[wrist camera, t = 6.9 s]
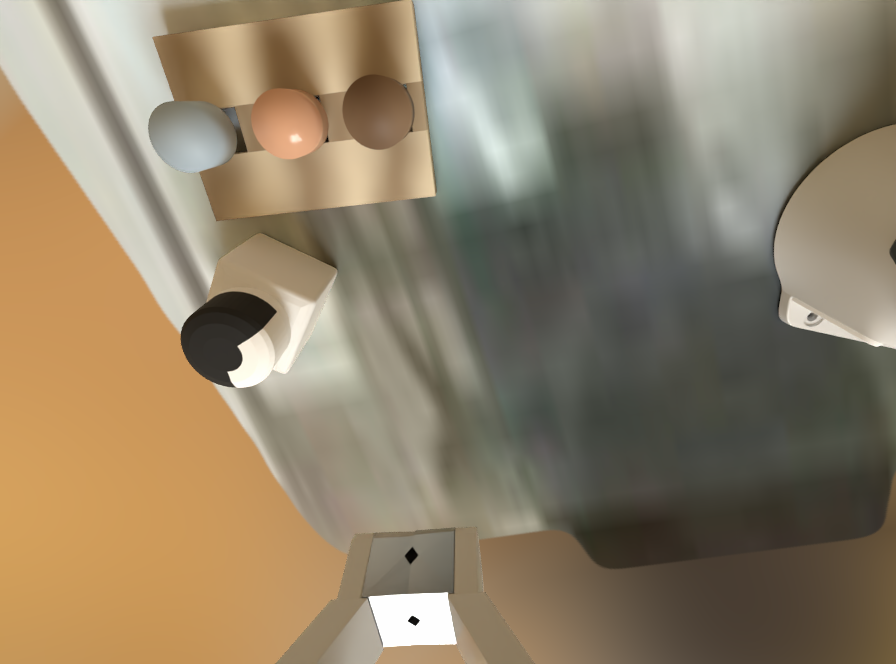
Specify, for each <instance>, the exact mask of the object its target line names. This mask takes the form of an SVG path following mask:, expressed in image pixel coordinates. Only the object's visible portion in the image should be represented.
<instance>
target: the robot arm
mask: <svg viewBox="0 0 896 664" xmlns="http://www.w3.org/2000/svg"><path fill="white" fill-rule="evenodd" d="M774 260H775V266H776V270H777V273H778V276H779V278H780V281H781V286H782V293H781V298H780V304H779V317H780V319H781V320H782V321H783V322H785V323H787V324H789V325H791V326H794V327H798V328H803V329H807V330H812V331H816V332H821V333H825V334H830V335H835V336H839V337H844V338H848V339H853V340H858V341H862V342H866V343H868V344H870V345H873V346H876V347H878V346H880V345H881V346H885V347H890V348H894V349H896V124H895V125H891V126H887V127H883V128H880V129H877V130H874V131H872V132H869V133H867V134H865V135H862V136H860V137H858V138H856V139H854V140H853V141H851V142H849V143H847V144H846V145H844V146H843V147H841V148H840V149H838V150H837V151H835V152H834V153H833V154H831V155H830V156H829V157H827V158H826V159H825V160H824V161H823V162H822V163H820V164H819V165H818V166H817V167H816V168H815V169H814V170H813V171H812V172H811V173H810V174H809V175H808V176H807V178H806V179H805V180H804V181H803V182H802V183H801V185H800V186H799V187H798V189H797V190H796V191H795V193H794V194H793V196H792V198H791V199H790V201H789V203H788V204H787V206H786V208H785V210H784V212H783V214H782V217H781V219H780V222H779V225H778V228H777V232H776V237H775V243H774ZM810 313H812V314H811V315H810V316H809V317H807V316H808V315H809V314H810ZM416 644H456V645H457V648H458V649H459V651H460V653H461V655H462V657H463V659H464V661H465V663H466V664H535V663H534V662H533V660H532V659H531V658H530V656H529V655H528V653H527V652H526V650H525V649H524V647H523V646H522V645H521V643H520V642H519V640H518V639H517V637H516V636H515V635H514V633H513V631H512V630H511V629H510V627H509V626H508V624H507V623H506V622H505V620H504V619H503V617H502V616H501V614H500V613H499V611H498V610H497V608H496V607H495V605H494V604H493V603H492V601H491V600H490V598H489V597H488V595H487V594H486V593H485V592H483V578H482V566H481V557H480V548H479V540H478V532H477V527H465V528H443V529H430V530H417V531H415V532H384V533H362V534H355V535H354V537H353V539H352V541H351V545H350V549H349V553H348V557H347V561H346V565H345V570H344V573H343V578H342V582H341V586H340V590H339V594H338V598H337V599H336V600H331V601H330V602H329V603H328V604H327V605H326V607H325V608H324V609H323V610H322V611H321V612H320V613H319V614H318V616H317V617H316V618H315V619H314V620H313V621H312V622H311V623H310V625H309V626H308V627H307V628H306V629H305V630H304V632H303V633H302V634H301V635H300V636H299V637H298V638H297V640H296V641H295V642H294V643H293V644H292V645H291V646H290V648H289V649H288V650H287V651H286V652H285V653H284V655H283V656H282V657H281V658H280V659H279V660H278V662H277V663H276V664H375V663H376V661H377V660H378V658H379V656H380V655H381V653H382V651H383V647H388V646H403V645H416Z"/></svg>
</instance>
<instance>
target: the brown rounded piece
mask: <svg viewBox="0 0 896 664" xmlns="http://www.w3.org/2000/svg"><path fill="white" fill-rule="evenodd" d="M342 114H343V119H344V123H345V126H346V128H347V130H348V132H349V133H350V135H351V136H352V137H353V138H354V139H355V140H356V141H357V142H358V143H360V144H361V145H363V146H365V147H367V148H369V149H374V150H383V149H388V148H390V147H392V146H394V145H396V144H397V143H398V142H400V141H401V140H402V139H404V138H405V137H406V136H407V134H408V133H409V132H410V130H411V128H412V126H413V122H414V117H415V109H414V103H413V100H412V98H411V95H410V94H409V92H408V90H407V89H406V88H405V87H404V86H403V85H402V84H401V83H400V82H398V81H397V80H395V79H392V78H390V77H386V76H382V75H376V74H372V75H366V76H363V77H361V78H359V79H357V80H356V81H354V82H353V83H352V84H351V85H350V87H349V88H348V90H347V92H346V94H345V96H344V100H343V105H342Z"/></svg>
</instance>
